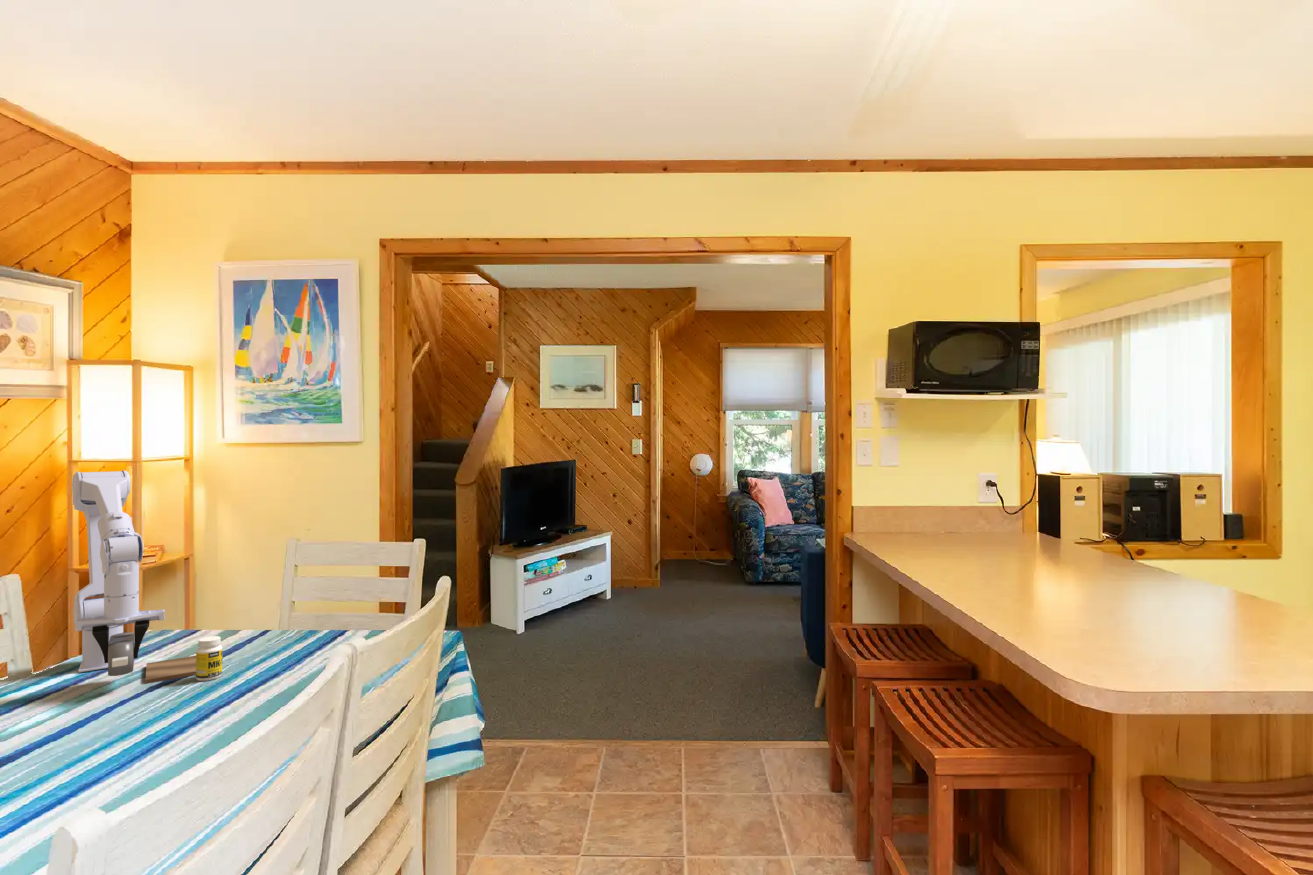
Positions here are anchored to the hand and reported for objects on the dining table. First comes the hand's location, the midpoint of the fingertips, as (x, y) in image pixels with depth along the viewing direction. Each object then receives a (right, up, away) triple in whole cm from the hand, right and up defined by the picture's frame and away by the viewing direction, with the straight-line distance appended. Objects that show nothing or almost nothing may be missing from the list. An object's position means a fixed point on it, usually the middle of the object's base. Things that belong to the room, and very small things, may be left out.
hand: (121, 659), depth 140 cm
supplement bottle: (+15, -6, +5) cm, 17 cm away
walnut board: (+5, -6, +10) cm, 12 cm away
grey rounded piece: (0, -2, 0) cm, 2 cm away
